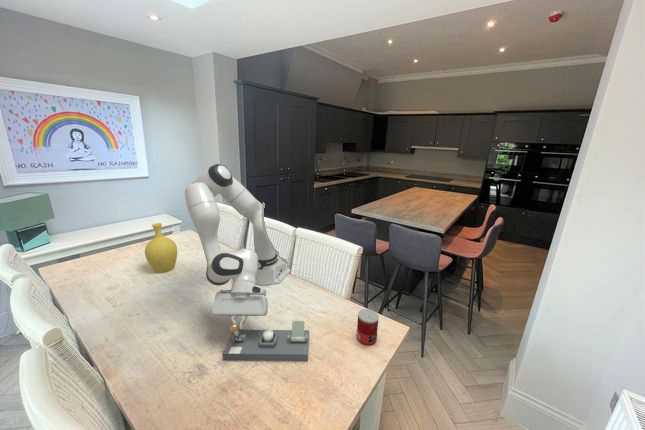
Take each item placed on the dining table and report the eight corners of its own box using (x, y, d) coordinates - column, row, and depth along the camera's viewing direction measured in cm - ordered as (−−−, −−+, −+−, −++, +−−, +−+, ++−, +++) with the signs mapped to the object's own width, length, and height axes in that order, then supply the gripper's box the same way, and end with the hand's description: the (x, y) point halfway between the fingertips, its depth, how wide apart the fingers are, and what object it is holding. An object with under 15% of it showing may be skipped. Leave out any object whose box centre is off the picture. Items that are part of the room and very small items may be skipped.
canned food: (372, 348, 99) (374, 324, 95) (353, 340, 103) (354, 316, 99) (379, 336, 105) (381, 313, 102) (361, 328, 109) (362, 306, 106)
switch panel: (234, 335, 104) (233, 324, 102) (309, 336, 104) (309, 325, 103) (223, 360, 92) (222, 348, 91) (307, 361, 93) (307, 349, 91)
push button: (264, 335, 99) (264, 329, 98) (274, 335, 99) (273, 329, 98) (262, 342, 95) (262, 336, 95) (272, 342, 95) (272, 336, 95)
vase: (185, 267, 157) (178, 223, 149) (157, 278, 144) (148, 231, 136) (170, 260, 165) (163, 218, 157) (143, 270, 152) (133, 225, 144)
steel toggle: (236, 335, 99) (230, 322, 91) (244, 335, 99) (238, 322, 91) (234, 343, 97) (228, 329, 89) (242, 343, 97) (236, 330, 89)
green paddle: (291, 340, 98) (291, 319, 99) (305, 340, 98) (305, 320, 99) (290, 342, 96) (291, 321, 97) (304, 342, 96) (305, 322, 97)
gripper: (213, 288, 98) (205, 327, 92) (267, 288, 98) (263, 328, 92) (219, 291, 104) (212, 329, 97) (270, 292, 104) (266, 329, 97)
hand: (237, 328), depth 95 cm, fingers closed
